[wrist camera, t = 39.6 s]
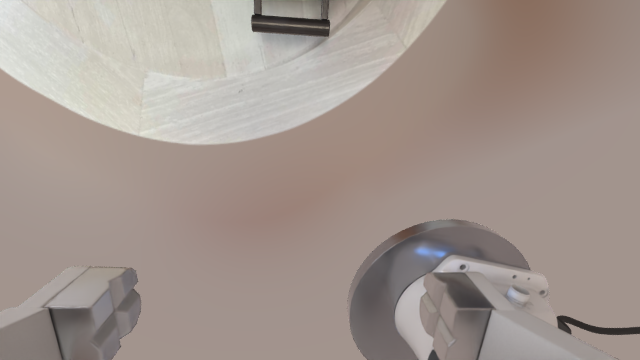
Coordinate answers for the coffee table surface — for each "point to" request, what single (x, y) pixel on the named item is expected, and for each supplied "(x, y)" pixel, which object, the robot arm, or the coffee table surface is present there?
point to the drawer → (291, 23)
